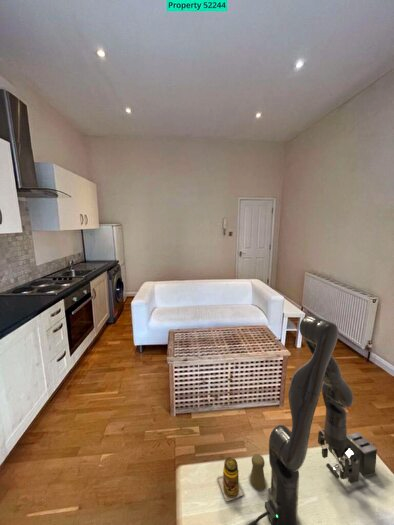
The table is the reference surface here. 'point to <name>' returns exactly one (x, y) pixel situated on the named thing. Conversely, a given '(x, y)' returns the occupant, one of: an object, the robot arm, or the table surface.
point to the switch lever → (336, 467)
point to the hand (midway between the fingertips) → (333, 466)
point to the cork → (257, 472)
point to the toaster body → (363, 452)
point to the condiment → (230, 480)
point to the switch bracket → (356, 465)
